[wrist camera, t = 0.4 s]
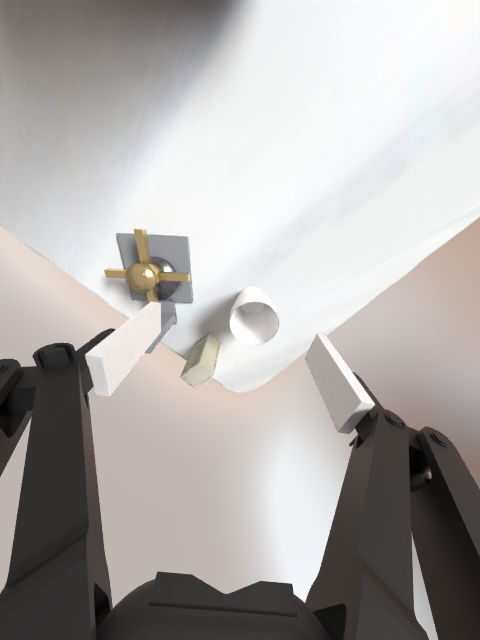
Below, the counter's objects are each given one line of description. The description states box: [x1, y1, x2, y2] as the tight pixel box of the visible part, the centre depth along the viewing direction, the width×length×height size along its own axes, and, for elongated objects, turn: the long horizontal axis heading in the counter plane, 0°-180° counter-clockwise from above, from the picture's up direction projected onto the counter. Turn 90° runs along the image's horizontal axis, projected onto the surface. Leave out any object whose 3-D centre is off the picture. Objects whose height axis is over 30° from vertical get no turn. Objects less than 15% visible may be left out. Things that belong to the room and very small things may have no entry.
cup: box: [230, 287, 279, 345], centre depth 37 cm, size 9×9×12 cm
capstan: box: [104, 229, 190, 303], centre depth 36 cm, size 17×16×7 cm
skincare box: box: [180, 333, 221, 388], centre depth 43 cm, size 6×4×12 cm
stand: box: [117, 233, 193, 353], centre depth 35 cm, size 20×14×14 cm
